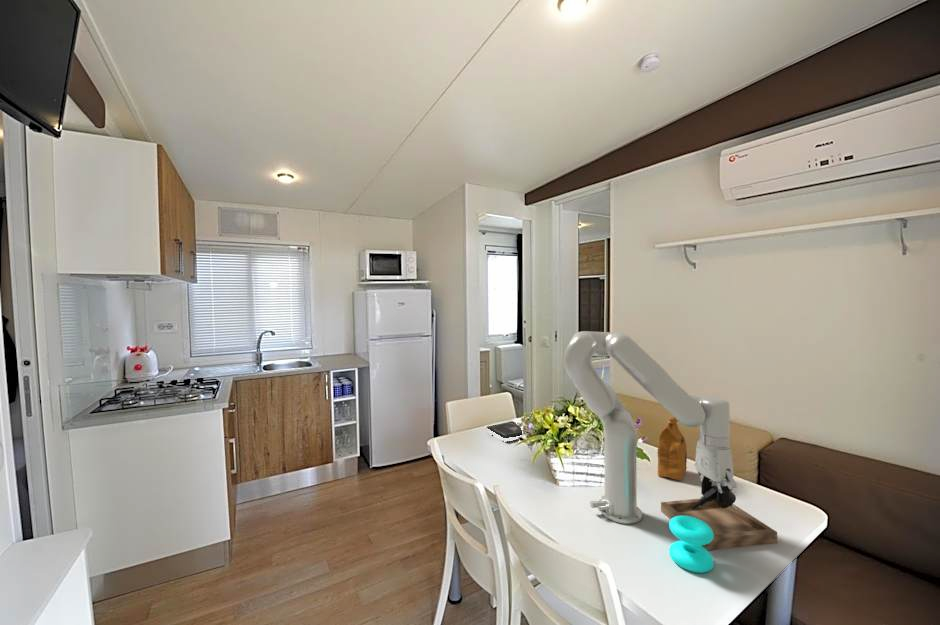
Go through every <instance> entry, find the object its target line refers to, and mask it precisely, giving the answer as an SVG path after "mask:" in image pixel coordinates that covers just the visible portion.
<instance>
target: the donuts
mask: <svg viewBox="0 0 940 625" xmlns="http://www.w3.org/2000/svg"><path fill="white" fill-rule="evenodd" d="M668 527H669V530H670V532H671V533H672V534H673V535H674V537H676V538H677V539H678V540H677V541H673V543H671V544H670V545H669V549H668V552H669V555H670V556H669V557H671V559H672V561H673V562H674V563H675V564H677V565H678V566H679V567H681V568H682V569H685V570H687V571H689V572H692V573H693V572H694V573H699V574H700V573H708V572H710V571H711V570H712V569H713V568H714V565H715V564H714V563H715V562H714V558H713V556H712V554H711V553H710V552H709V550H708V551H707V550H706V549H705V548H704V547H702V546H701V545H706V544H709V543H710V542H711V541H712V540H713V537H714V534H713V531H712V529H711V528H710V526H709V525H708V524H706V523H705V522H703V521H702V520H700V519H697V518H694V517H691V516H684V515H680V516H675V517H673V518H672V519H671V520H670V519H669V523H668Z"/></svg>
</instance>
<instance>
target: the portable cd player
mask: <svg viewBox="0 0 940 625" xmlns="http://www.w3.org/2000/svg"><path fill="white" fill-rule="evenodd" d="M516 423H517V422H514V421H507V422H503V423H499V424H493V425H488V426H486V429H487V428H488V429H490V430H491V431H493V432H495V433H496V434H498V435H500V436H501V437H503V438H509V437H516V436H520V435H522V430H521V428H520V427H519V426H518V425H517V424H518V423H517V424H516Z"/></svg>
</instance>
